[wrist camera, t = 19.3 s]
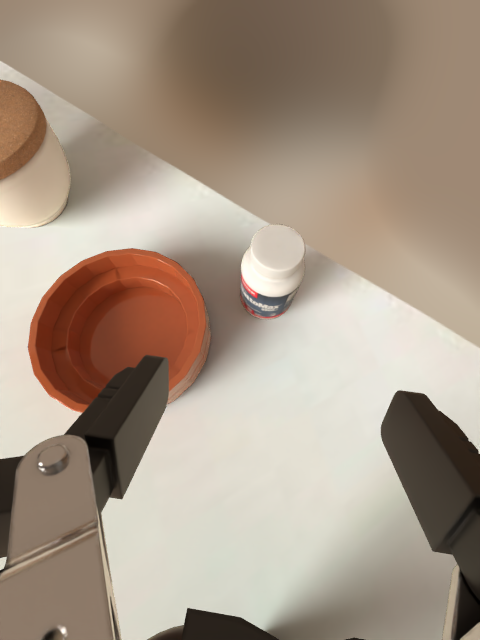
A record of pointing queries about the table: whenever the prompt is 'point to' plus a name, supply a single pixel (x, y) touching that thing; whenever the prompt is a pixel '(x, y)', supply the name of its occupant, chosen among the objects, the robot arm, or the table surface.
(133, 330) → the terracotta bowl
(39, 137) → the lidded bowl
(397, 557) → the table surface
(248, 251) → the pill bottle
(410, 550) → the table surface
